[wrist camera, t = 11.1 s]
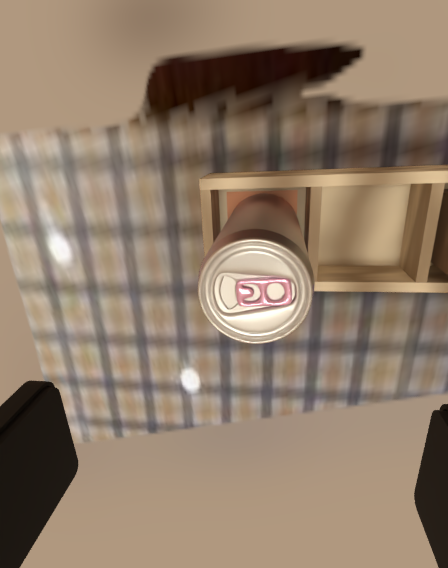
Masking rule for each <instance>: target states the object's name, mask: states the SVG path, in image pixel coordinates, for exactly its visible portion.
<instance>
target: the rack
mask: <svg viewBox="0 0 448 568" xmlns="http://www.w3.org/2000/svg"><path fill="white" fill-rule="evenodd" d="M199 184H200V199H201V213H202V228H203V242H204V257H205V256H206V254H207V253H208V251H209V249H210V248H211V246H212V245H213V243H214V241H215V240H216V238H217V237H218V235H219V233H220V232H221V230H222V229H223V227H224V225H225V224H226V222H227V221H228V219H229V217H230V216H231V214H232V213H233V211H234V209H235V208H236V207H237V205H238V204H239V203H240V202H241V201H243V200H244V199H246V198H247V197H249V196H252V195H255V194H260V193H268V194H274V195H277V196H279V197H281V198H283V199H284V200H286V201H287V202H288V203H289V204H290V205H291V206H292V208H293V209H294V211H295V213H296V215H297V218H298V221H299V225H300V228H301V232H302V235H303V239H304V242H305V245H306V249H307V252H308V256H309V259H310V263H311V266H312V270H313V274H314V282H315V285H314V291H353V292H440V293H448V275H447V274H445V273H444V272H443V271H442V270H440V269H439V268H438V267H436V266H435V265H434V264H433V263H431V257H432V251H433V246H434V241H435V235H436V230H437V224H438V219H439V213H440V208H441V203H442V197H443V192H444V189H448V165H429V166H401V167H374V168H346V169H318V170H291V171H263V172H235V173H210V174H208V175H206V176H204V177H202V178H200V179H199Z"/></svg>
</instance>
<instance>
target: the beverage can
mask: <svg viewBox="0 0 448 568" xmlns="http://www.w3.org/2000/svg"><path fill="white" fill-rule="evenodd" d="M198 281H199V283H198V297H199V301H200V305H201V308H202V310H203V312H204V314H205V316H206V317H207V319H208V320H209V321H210V323H211V324H212V325H213V326H214V327H215V328H216V329H217V330H219V331H220V332H221V333H223V334H224V335H226V336H228V337H230V338H232V339H234V340H237V341H241V342H245V343H253V344H260V343H268V342H273V341H276V340H279V339H281V338H283V337H285V336H287V335H289V334H290V333H292V332H293V331H294V330H295V329H296V328H297V327H298V326H299V325H300V324H301V323H302V322H303V320H304V319H305V317H306V316H307V314H308V312H309V309H310V306H311V302H312V298H313V294H314V285H315V282H314V274H313V270H312V266H311V263H310V259H309V256H308V252H307V249H306V245H305V242H304V239H303V235H302V232H301V228H300V225H299V221H298V218H297V215H296V213H295V211H294V209H293V208H292V206H291V205H290V204H289V203H288V202H287V201H286V200H284V199H283V198H281V197H279V196H277V195H274V194H268V193H260V194H255V195H252V196H249V197H247V198H246V199H244V200H243V201H241V202H240V203H239V204H238V205H237V207H236V208H235V209H234V211H233V213H232V214H231V216H230V217H229V219H228V221H227V222H226V224H225V225H224V227H223V229H222V230H221V232H220V233H219V235H218V237H217V238H216V240H215V241H214V243H213V245H212V246H211V248H210V249H209V251H208V253H207V254H206V256H205V258H204V260H203V262H202V264H201V267H200V271H199V280H198Z"/></svg>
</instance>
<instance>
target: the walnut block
mask: <svg viewBox="0 0 448 568" xmlns="http://www.w3.org/2000/svg"><path fill="white" fill-rule="evenodd" d="M431 263H433V264H434V265H435V266H436V267H438V268H439V269H440V270H442V271H443V272H444V273H445V274H447V275H448V189H444V192H443V197H442V203H441V208H440V213H439V219H438V224H437V230H436V235H435V241H434V246H433V251H432V257H431Z"/></svg>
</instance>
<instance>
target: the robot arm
mask: <svg viewBox="0 0 448 568" xmlns="http://www.w3.org/2000/svg"><path fill="white" fill-rule="evenodd" d="M77 469H78V458H77V455H76V451H75V447H74V444H73V440H72V436H71V433H70V429H69V425H68V421H67V418H66V414H65V410H64V407H63V403H62V399H61V395H60V392H59V390H58V389H57V388H55V387H54V384H53V383H52V382H46V381H28V382H26V383H24V384H23V385H22V386H21V387H20V388H19V389H18V390H17V391H16V392H15V393H14V394H13V395H12V396H11V397H10V398H9V399H8V400H6V401H5V402H4V403H3V404H2V405H1V406H0V568H19V567H20V566H21V564H22V563H23V561H24V559H25V558H26V556H27V555H28V553H29V551H30V550H31V548H32V546H33V545H34V543H35V541H36V539H37V538H38V536H39V535H40V533H41V531H42V530H43V528H44V526H45V525H46V523H47V521H48V520H49V518H50V516H51V515H52V513H53V512H54V510H55V508H56V506H57V505H58V503H59V501H60V500H61V498H62V497H63V495H64V493H65V491H66V490H67V488H68V487H69V485H70V483H71V482H72V480H73V478H74V477H75V475H76V472H77ZM414 494H415V495H414V497H415V504H416V508H417V511H418V514H419V517H420V519H421V522H422V524H423V527H424V530H425V532H426V535H427V538H428V540H429V543H430V546H431V548H432V551H433V553H434V556H435V559H436V561H437V564H438V567H439V568H448V404H443V405H442V406H441V407H440V410H434V411H433V413H432V416H431V420H430V425H429V429H428V434H427V438H426V443H425V447H424V452H423V456H422V460H421V465H420V469H419V474H418V479H417V483H416V487H415V493H414Z"/></svg>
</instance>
